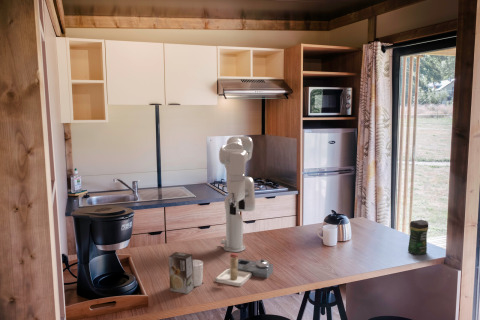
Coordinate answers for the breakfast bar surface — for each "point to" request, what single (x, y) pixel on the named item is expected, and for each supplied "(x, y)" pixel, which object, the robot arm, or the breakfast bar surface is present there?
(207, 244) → the breakfast bar surface
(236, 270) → the lock pin
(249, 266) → the block
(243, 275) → the tray
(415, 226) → the coffee jar
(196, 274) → the white cup
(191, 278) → the coffee box
